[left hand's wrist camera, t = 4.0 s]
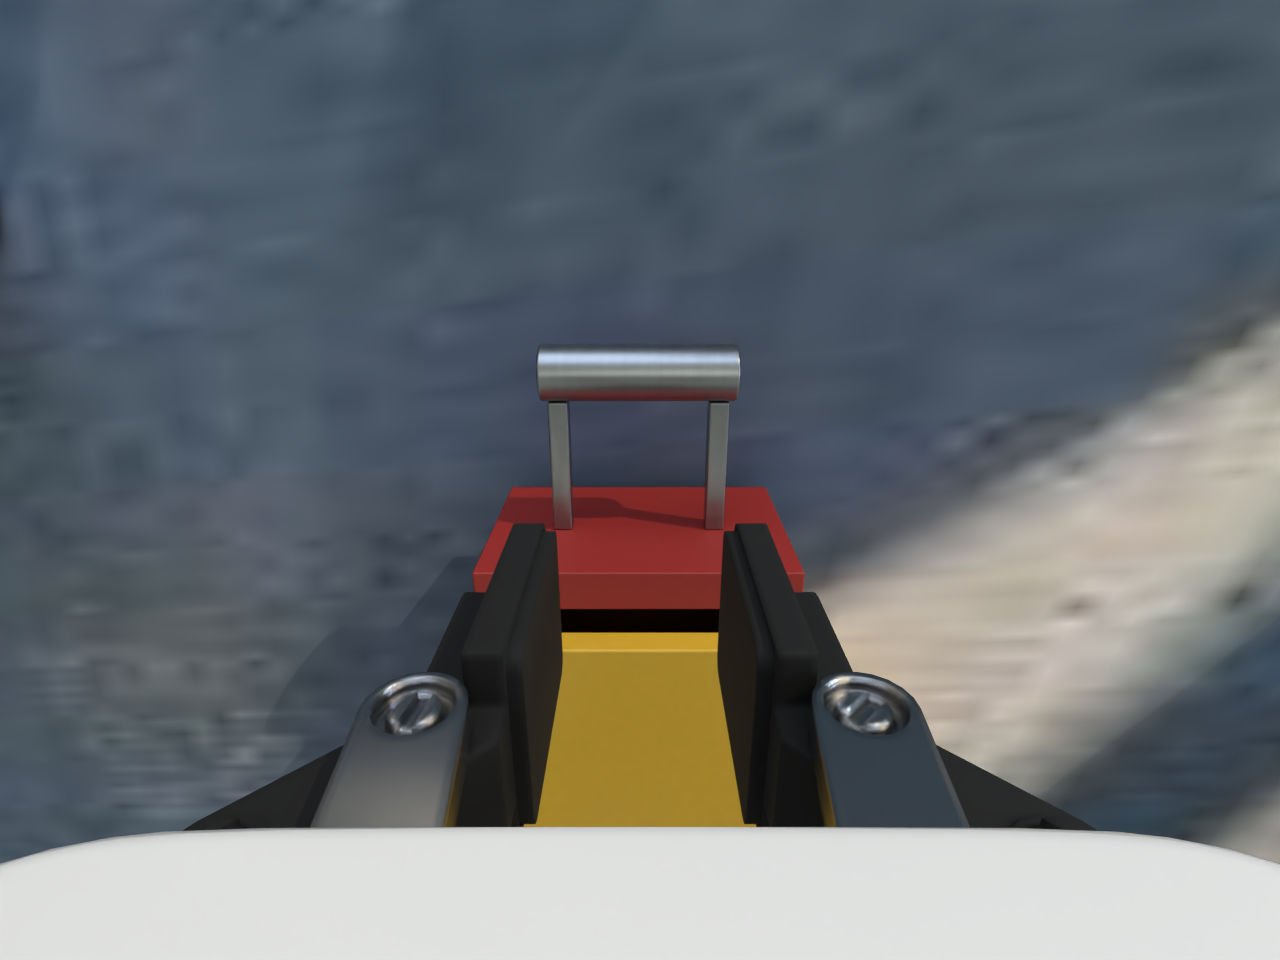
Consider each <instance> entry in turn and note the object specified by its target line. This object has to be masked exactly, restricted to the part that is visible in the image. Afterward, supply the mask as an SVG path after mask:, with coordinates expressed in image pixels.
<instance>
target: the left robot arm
mask: <svg viewBox="0 0 1280 960" xmlns="http://www.w3.org/2000/svg"><path fill="white" fill-rule="evenodd" d="M562 667H563V649H562V630H561V610H560V590H559V570H558V550H557V535H556V531H546V528H545V524H544V523H514V524H513V526H512V528H511V531H510V533H509V536H508V538H507V541H506V543H505V546H504V548H503V550H502V553H501V555H500V558H499V560H498V563H497V565H496V568H495V570H494V573H493V575H492V578H491V580H490V583H489V585H488V587H487V590H486V592H466V593H464V594H463V596H462V598H461V600H460V602H459V604H458V606H457V608H456V611H455V613H454V615H453V617H452V619H451V621H450V623H449V626H448V628H447V630H446V632H445V634H444V636H443V639H442V641H441V643H440V645H439V647H438V649H437V652H436V654H435V656H434V658H433V660H432V662H431V665H430V667H429V669H428V671H427V672H421V673H414V674H408V675H405V676H402V677H399V678H396V679H393V680H391V681H389V682H387V683H386V684H384V685H382V686H380V687H378V688H377V689H376V690H375V691H374V692H372V693H371V694H370V695H369V696H368V697H367V698H366V699H365V701H364V702H363V704H362V705H361V707H360V708H359V710H358V713H357V715H356V718H355V720H354V722H353V725H352V727H351V730H350V732H349V734H348V737H347V739H346V742H345V744H344V745H343V746H341V747H339V748H337V749H335V750H333V751H331V752H329V753H328V754H326V755H324V756H322V757H320V758H318V759H316V760H314V761H312V762H310V763H308V764H306V765H304V766H303V767H301V768H299V769H297V770H295V771H293V772H291V773H289V774H287V775H285V776H283V777H281V778H280V779H278V780H276V781H274V782H272V783H270V784H268V785H266V786H264V787H262V788H260V789H258V790H256V791H255V792H253V793H251V794H249V795H247V796H245V797H243V798H241V799H239V800H237V801H235V802H233V803H232V804H230V805H228V806H226V807H224V808H222V809H220V810H218V811H216V812H214V813H212V814H210V815H209V816H207V817H205V818H203V819H201V820H199V821H197V822H196V823H194V824H192V825H191V826H189V827H188V828H186V829H184V830H183V831H172V832H157V833H148V834H139V835H130V836H121V837H111V838H106V839H101V840H96V841H90V842H85V843H80V844H75V845H70V846H64V847H59V848H54V849H50V850H47V851H43V852H40V853H36V854H33V855H29V856H26V857H22V858H19V859H15V860H12V861H8V862H5V863H1V864H0V960H1280V864H1279V863H1275V862H1272V861H1268V860H1265V859H1261V858H1258V857H1254V856H1251V855H1247V854H1244V853H1240V852H1237V851H1233V850H1230V849H1226V848H1221V847H1216V846H1210V845H1205V844H1200V843H1195V842H1189V841H1184V840H1179V839H1174V838H1169V837H1159V836H1150V835H1141V834H1132V833H1123V832H1108V831H1097V830H1096V829H1094V828H1092V827H1091V826H1089V825H1088V824H1086V823H1084V822H1083V821H1081V820H1079V819H1077V818H1075V817H1073V816H1072V815H1070V814H1068V813H1066V812H1064V811H1062V810H1060V809H1058V808H1056V807H1054V806H1052V805H1050V804H1048V803H1047V802H1045V801H1043V800H1041V799H1039V798H1037V797H1035V796H1033V795H1031V794H1029V793H1027V792H1025V791H1024V790H1022V789H1020V788H1018V787H1016V786H1014V785H1012V784H1010V783H1008V782H1006V781H1004V780H1002V779H1000V778H999V777H997V776H995V775H993V774H991V773H989V772H987V771H985V770H983V769H981V768H979V767H977V766H976V765H974V764H972V763H970V762H968V761H966V760H964V759H962V758H960V757H958V756H956V755H954V754H952V753H951V752H949V751H947V750H945V749H943V748H941V747H939V746H937V745H936V744H935V742H934V739H933V737H932V734H931V732H930V730H929V727H928V725H927V722H926V720H925V718H924V715H923V713H922V710H921V708H920V707H919V705H918V704H917V702H916V701H915V699H914V698H913V697H912V696H911V695H910V694H909V693H908V692H906V691H905V690H904V689H903V688H902V687H900V686H898V685H896V684H894V683H893V682H891V681H889V680H887V679H884V678H881V677H878V676H875V675H872V674H866V673H859V672H853V671H852V669H851V667H850V665H849V662H848V660H847V658H846V656H845V654H844V652H843V649H842V647H841V645H840V643H839V641H838V639H837V636H836V634H835V632H834V630H833V628H832V626H831V623H830V621H829V619H828V617H827V615H826V613H825V610H824V608H823V606H822V604H821V602H820V600H819V598H818V596H817V594H816V593H814V592H794V590H793V587H792V585H791V582H790V580H789V578H788V575H787V573H786V570H785V568H784V565H783V563H782V560H781V558H780V555H779V553H778V550H777V548H776V546H775V543H774V541H773V538H772V536H771V533H770V531H769V528H768V526H767V524H766V523H736V524H735V528H734V531H724V535H723V551H722V570H721V590H720V610H719V630H718V650H717V667H718V676H719V682H720V688H721V694H722V700H723V706H724V712H725V718H726V723H727V729H728V735H729V741H730V747H731V753H732V759H733V765H734V771H735V777H736V783H737V789H738V794H739V800H740V806H741V812H742V818H743V822H744V824H756V827H524V824H536V822H537V818H538V812H539V806H540V800H541V794H542V789H543V783H544V777H545V771H546V765H547V759H548V753H549V747H550V741H551V735H552V729H553V724H554V718H555V712H556V706H557V700H558V694H559V688H560V682H561V676H562Z"/></svg>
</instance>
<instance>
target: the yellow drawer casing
mask: <svg viewBox="0 0 1280 960" xmlns="http://www.w3.org/2000/svg"><path fill="white" fill-rule="evenodd" d="M562 649H563V667H562V676H561V682H560V688H559V694H558V700H557V706H556V712H555V718H554V724H553V729H552V735H551V741H550V747H549V753H548V759H547V765H546V771H545V777H544V783H543V789H542V794H541V800H540V806H539V812H538V818H537V822H536V824H524V827H756V824H744V822H743V818H742V812H741V806H740V800H739V794H738V789H737V783H736V777H735V771H734V765H733V759H732V753H731V747H730V741H729V735H728V729H727V723H726V718H725V712H724V706H723V700H722V694H721V688H720V682H719V676H718V667H717V650H718V633H562Z"/></svg>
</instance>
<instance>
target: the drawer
mask: <svg viewBox="0 0 1280 960" xmlns="http://www.w3.org/2000/svg"><path fill="white" fill-rule="evenodd" d="M740 378H741V360H740V351H739V347H738V345H737V344H540V345H539V347H538V350H537V358H536V379H537V389H538V394H539V397H540V400H542V401H549V402H548V404H547V406H548V425H549V444H550V464H551V483H552V487H513V488H512V489H511V491H510V493H509V496H508V498H507V500H506V502H505V504H504V506H503V509H502V511H501V513H500V515H499V517H498V519H497V521H496V524H495V526H494V528H493V530H492V532H491V534H490V537H489V539H488V541H487V543H486V545H485V547H484V549H483V552H482V554H481V556H480V558H479V560H478V562H477V564H476V567H475V569H474V571H473V573H472V576H473V586H474V592H486V590H487V587H488V585H489V583H490V580H491V578H492V575H493V573H494V570H495V568H496V565H497V563H498V560H499V558H500V555H501V553H502V550H503V548H504V546H505V543H506V541H507V538H508V536H509V533H510V531H511V528H512V526H513V524H514V523H544V524H545V528H546V531H556V535H557V550H558V570H559V590H560V610H561V630H562V633H718V630H719V610H720V590H721V570H722V551H723V535H724V531H734V528H735V524H736V523H766V524H767V526H768V528H769V531H770V533H771V536H772V538H773V541H774V543H775V546H776V548H777V550H778V553H779V555H780V558H781V560H782V563H783V565H784V568H785V570H786V573H787V575H788V578H789V580H790V582H791V585H792V587H793V590H794V592H803V585H804V575H805V573H804V571H803V569H802V567H801V565H800V562H799V560H798V558H797V556H796V554H795V551H794V549H793V547H792V545H791V543H790V540H789V538H788V536H787V534H786V532H785V529H784V527H783V525H782V523H781V521H780V518H779V516H778V514H777V512H776V510H775V508H774V505H773V503H772V501H771V499H770V497H769V494H768V492H767V490H766V488H765V487H726V468H727V448H728V428H729V408H730V404H729V401H735V400H737V397H738V394H739V389H740ZM569 401H708V411H707V437H706V464H705V487H573V484H572V459H571V434H570V408H569Z"/></svg>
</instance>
